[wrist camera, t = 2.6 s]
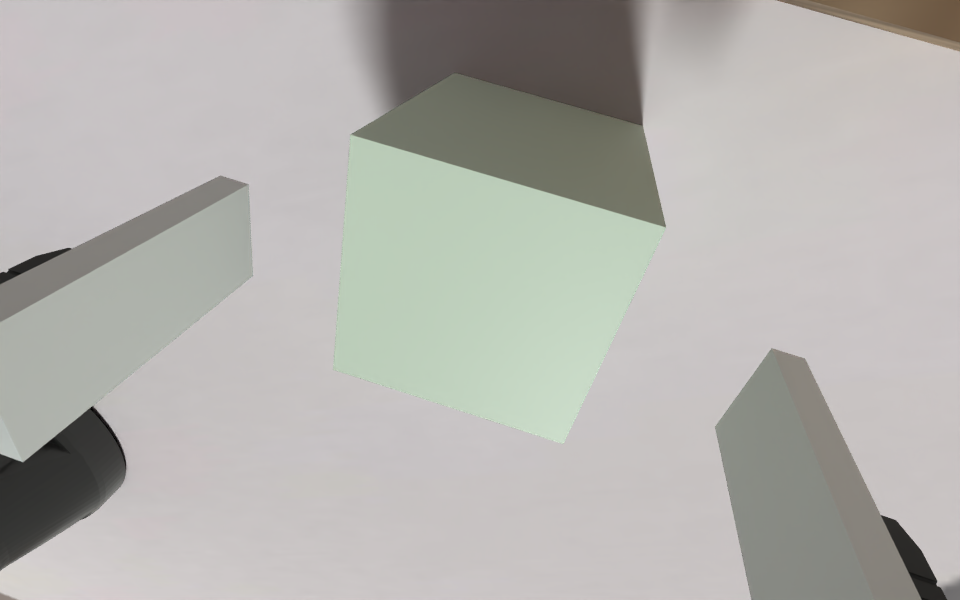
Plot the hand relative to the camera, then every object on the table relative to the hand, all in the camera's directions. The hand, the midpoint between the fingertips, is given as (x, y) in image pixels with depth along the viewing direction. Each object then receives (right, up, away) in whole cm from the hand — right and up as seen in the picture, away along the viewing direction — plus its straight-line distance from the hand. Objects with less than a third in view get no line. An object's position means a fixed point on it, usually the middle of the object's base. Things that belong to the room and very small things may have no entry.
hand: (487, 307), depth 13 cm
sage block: (+1, +5, +7) cm, 9 cm away
